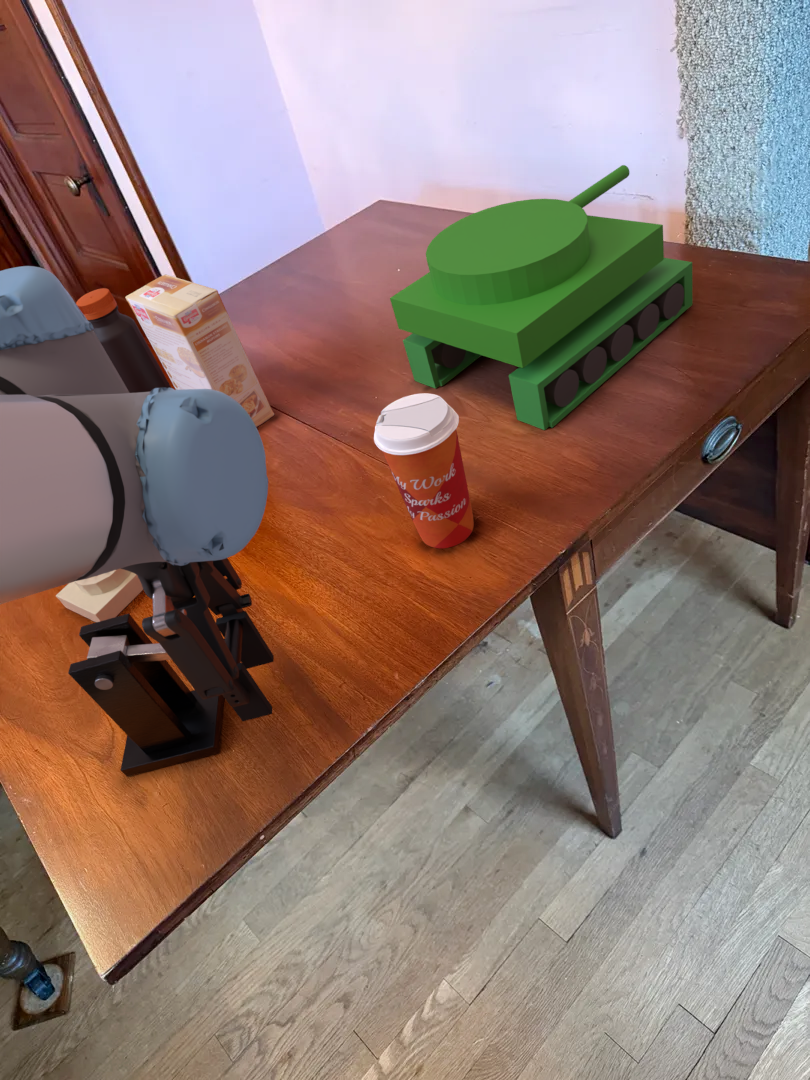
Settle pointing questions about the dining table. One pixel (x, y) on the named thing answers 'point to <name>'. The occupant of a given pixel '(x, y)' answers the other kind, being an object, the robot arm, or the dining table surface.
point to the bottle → (122, 342)
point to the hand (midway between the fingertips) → (258, 687)
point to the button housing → (101, 594)
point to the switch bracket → (148, 702)
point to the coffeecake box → (198, 341)
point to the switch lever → (156, 650)
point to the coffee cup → (427, 466)
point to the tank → (542, 299)
